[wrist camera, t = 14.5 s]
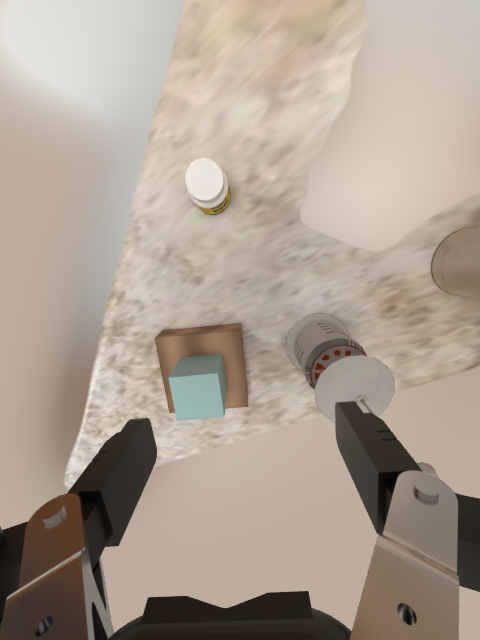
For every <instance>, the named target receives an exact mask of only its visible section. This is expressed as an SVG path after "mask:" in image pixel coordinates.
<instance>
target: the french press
mask: <svg viewBox="0 0 480 640" xmlns="http://www.w3.org/2000/svg"><path fill="white" fill-rule="evenodd" d="M351 341H352V342H353V341H354V340H353V339H352V338H350V337H349V333H348V331H347V329H346V327H345V325H344V324H343V323H342V322H341V321H340V320H338V319H337V318H336V317H334V316H330V315H326V314H322V313H321V314H314V315H309V316H307V317H305V318H303V319H301V320H300V321H298V322H297V323H296V324H295V325H294V327H293V328H292V329H291V330H290V331H289V335H288V338H287V341H286V348H287V355H288V357H289V358H290V360H291V362H292V363H293V365H295V366H296V367H298V368H299V369H300V370H302V371H303V373H304V375H306V374H307V375H308V376H307V375H306V376H307V377H308V378H309V379H310V380H311V381H310V380H309V379H308V378H307V377H306V376H305V377H306V379H307V381H310V382H311V383H309V382H308V383H309V385H310V386H311V387H312V388H313V389H315V401H316V404H317V406H318V408H319V409H320V411H321V413H322V414H323V415H324V416H326V417H327V418H328V419H330V420H331V421H333V422H335V403H336V402H347V401H355V402H356V403H357V404H358V406H359V407H360V409H361V410H362V411H363V413H370V412H371V413H373V414H374V415H376V416H377V417H379V416H380V415H381V414H382V413H383V412H384V411H385V410H386V409H387V408H388V407H389V404H390V402H391V400H392V398H393V396H394V378H393V376H392V374H391V372H390V370H389V368H388V367H387V366H386V365H385V364H383V363H382V362H381V361H380V360H378V359H377V358H373V357H368V356H366V353H365V352H364V350H363V348H362V347H361V346H360V345H359V344H358V343H357V342H355V341H354V342H353V344H354V346H353V345H352V342H351ZM356 343H357V344H358V345H357V344H356ZM350 344H351V346H350ZM355 344H356V345H355ZM356 346H357V347H358V346H359V347H360V348H359V347H358V348H357V347H356ZM360 349H361V350H362V351H361V350H360ZM307 372H309V373H310V374H308V373H307ZM305 373H306V374H305ZM309 376H310V377H309ZM417 465H418V466H419V467H420V468H421V470H422V471H423V472H425V473H428V474H431V475H433V476H435V477H437V478H438V479H439V477H438V475H437V473H436V471H435V469H434V468H433V467H432V466H431V465H429V464H427V463H423V462H421V463H417Z"/></svg>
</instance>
